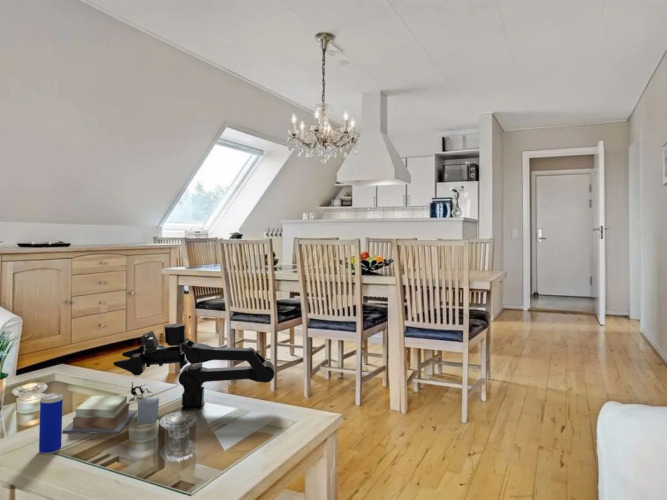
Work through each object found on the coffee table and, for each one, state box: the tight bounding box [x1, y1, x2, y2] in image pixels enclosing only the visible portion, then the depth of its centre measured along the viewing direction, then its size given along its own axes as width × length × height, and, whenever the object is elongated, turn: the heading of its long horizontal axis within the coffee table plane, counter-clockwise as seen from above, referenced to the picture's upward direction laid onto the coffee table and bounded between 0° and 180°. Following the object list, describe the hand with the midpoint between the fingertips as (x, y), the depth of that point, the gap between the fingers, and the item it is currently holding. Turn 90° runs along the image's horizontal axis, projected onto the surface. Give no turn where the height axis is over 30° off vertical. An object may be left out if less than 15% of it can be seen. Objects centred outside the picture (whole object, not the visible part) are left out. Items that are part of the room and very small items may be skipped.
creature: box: [130, 381, 154, 399], centre depth 168 cm, size 8×5×8 cm
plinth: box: [72, 395, 130, 428], centre depth 146 cm, size 12×12×6 cm
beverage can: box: [38, 392, 64, 455], centre depth 126 cm, size 5×5×15 cm
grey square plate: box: [62, 409, 138, 434], centre depth 146 cm, size 16×16×1 cm
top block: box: [136, 396, 160, 423], centre depth 150 cm, size 5×5×6 cm
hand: (118, 358), depth 158 cm, fingers open, 9 cm apart
